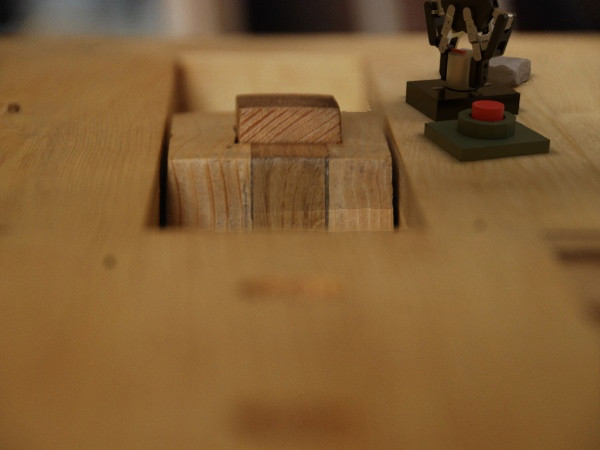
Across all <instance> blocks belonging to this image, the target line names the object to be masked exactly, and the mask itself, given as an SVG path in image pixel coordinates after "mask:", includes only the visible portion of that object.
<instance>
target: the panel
mask: <svg viewBox="0 0 600 450" xmlns="http://www.w3.org/2000/svg"><path fill="white" fill-rule="evenodd" d="M481 100H489V101H496V102H500V103H502V104H504V111H507V112H509V113H511V114H513V115H515V116H518V115H519V113H520V112H519V111H520V102H521V92H519V91H518V90H516V89H514V88H509V87H507V86H505V85H503V84H501V83H499V82H497V81H495V80H493V79H491V78H488V79H487V82H486V84H484V86H483V87H482V88H478V89H476V90H470V91H460V90H453V89H450V88H447V87H446V81H443V80H441V78H431V79H419V80H406V83H405V103H406V104H407V105H409V106H411V107H412V108H414V109H416V111H418V112H420V113H421V114H423V115H424V116H426V117H427V118H429V119H430V120H432V122H438V121H449V120H458V115H459V112H461V111H464V110H467V109H472V104H473V102H476V101H481Z"/></svg>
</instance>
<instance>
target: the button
mask: <svg viewBox="0 0 600 450" xmlns="http://www.w3.org/2000/svg"><path fill="white" fill-rule="evenodd" d="M503 113H504V104H502V103H500V102H496V101H489V100H481V101H476V102H473V104H472V113H471V118H472V119H476V120H480V121H491V122H492V121H501V120H503Z"/></svg>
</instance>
